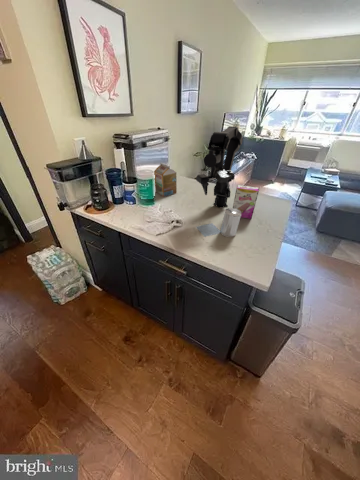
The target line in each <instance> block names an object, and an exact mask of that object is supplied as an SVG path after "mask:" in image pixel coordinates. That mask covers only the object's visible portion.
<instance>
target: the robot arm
mask: <svg viewBox="0 0 360 480" xmlns="http://www.w3.org/2000/svg"><path fill="white" fill-rule="evenodd" d="M243 138H244V137H243V133H241V131H240V130H239V127H238V126H231V125H230V126H227V128H225V129H224V130H222V131H213V133H212V134H211V136H210V138H209V139H210V140H209V141H208V142H209V143H208V145H207V148H206V149H207V151H208V153H207V154H206V155H205V156H204V158H203V163H204V166H205V167H207V168H209V169H210V171H209V172H208V175H206V174H205V173H203V174H197V175H196V182H198V183H199V184H200V185H201V186H202V187H201V188H203V189H202V190H203V192H204V195H205V196H207V195H208V187H209V185H210V184H209V182H210V181H213V180H216V182H215V185H214V187H213V196H214V202H213V205H215V206H216V207H217V208H218V209H219V208H226V207H229V206H228V204H227V202H228V199H229V198H231V188H230V182H232V181H234V180H235V173H233V171H232V167H233V164H234V163H233V162H234V160H235V155H236V153H238V152H239V150H240V149H241V148H240V147H241V146H242V144H243V140H244V139H243ZM225 153H226V154H225Z"/></svg>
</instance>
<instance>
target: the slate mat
mask: <svg viewBox="0 0 360 480" xmlns="http://www.w3.org/2000/svg"><path fill="white" fill-rule="evenodd" d="M195 228H196V229H197V230H198V231H199V233H200V234H201V235H202V236H203V237H205V238H206V237H210V236H213V235H218V234H221V229H219V228H218V227H217V226H216V225H215V224H214V223H212V222H211V223H208V224H202V225H197V226H195Z"/></svg>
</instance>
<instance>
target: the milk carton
mask: <svg viewBox="0 0 360 480" xmlns="http://www.w3.org/2000/svg"><path fill="white" fill-rule="evenodd" d="M154 175H155V178H154V191H155V193H157V194H158V195H160V196H161V197H168V196H172V195H175V194H178V193H177V189H178V188H177V187H178V185H177V183H178V182H177V172H176V171H175V170H174V169H172V168H171V167H170V165H168V164H167V163H166V164H165V163H163V162H160V164H159V166H157V167H156V168H155V169H154V171H153V176H154Z"/></svg>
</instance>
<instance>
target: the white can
mask: <svg viewBox="0 0 360 480" xmlns="http://www.w3.org/2000/svg"><path fill="white" fill-rule="evenodd" d="M241 218H242V217H241V211H239V210H237V209H234V208H233V207H229V208H226V209H225V210H224V213H223V218H222V219H223V220H222V224H221V226H220V227H221V228H220V231H221V233H220V234H221V235H222V236H224V237H227V238H233V237H235V236H236V235H237V231H238V228H239V224H240V220H241Z"/></svg>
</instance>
